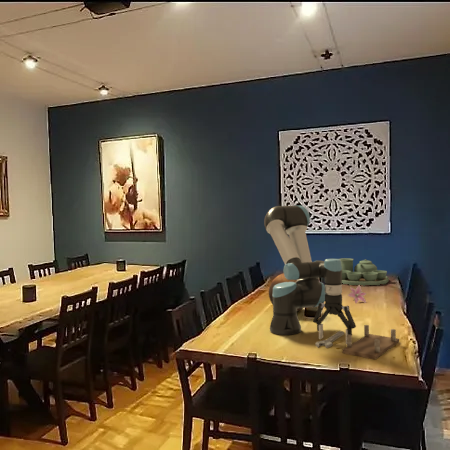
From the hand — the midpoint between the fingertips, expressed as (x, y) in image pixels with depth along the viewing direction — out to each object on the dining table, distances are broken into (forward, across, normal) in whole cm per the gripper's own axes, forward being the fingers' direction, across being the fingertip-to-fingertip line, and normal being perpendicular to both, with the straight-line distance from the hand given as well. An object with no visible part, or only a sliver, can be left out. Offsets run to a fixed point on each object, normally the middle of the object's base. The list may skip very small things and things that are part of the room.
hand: (334, 340), depth 207 cm
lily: (0, -25, +80) cm, 84 cm away
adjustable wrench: (+1, -1, +1) cm, 2 cm away
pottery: (0, -46, +37) cm, 59 cm away
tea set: (0, -51, +148) cm, 156 cm away
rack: (0, +17, +1) cm, 17 cm away
